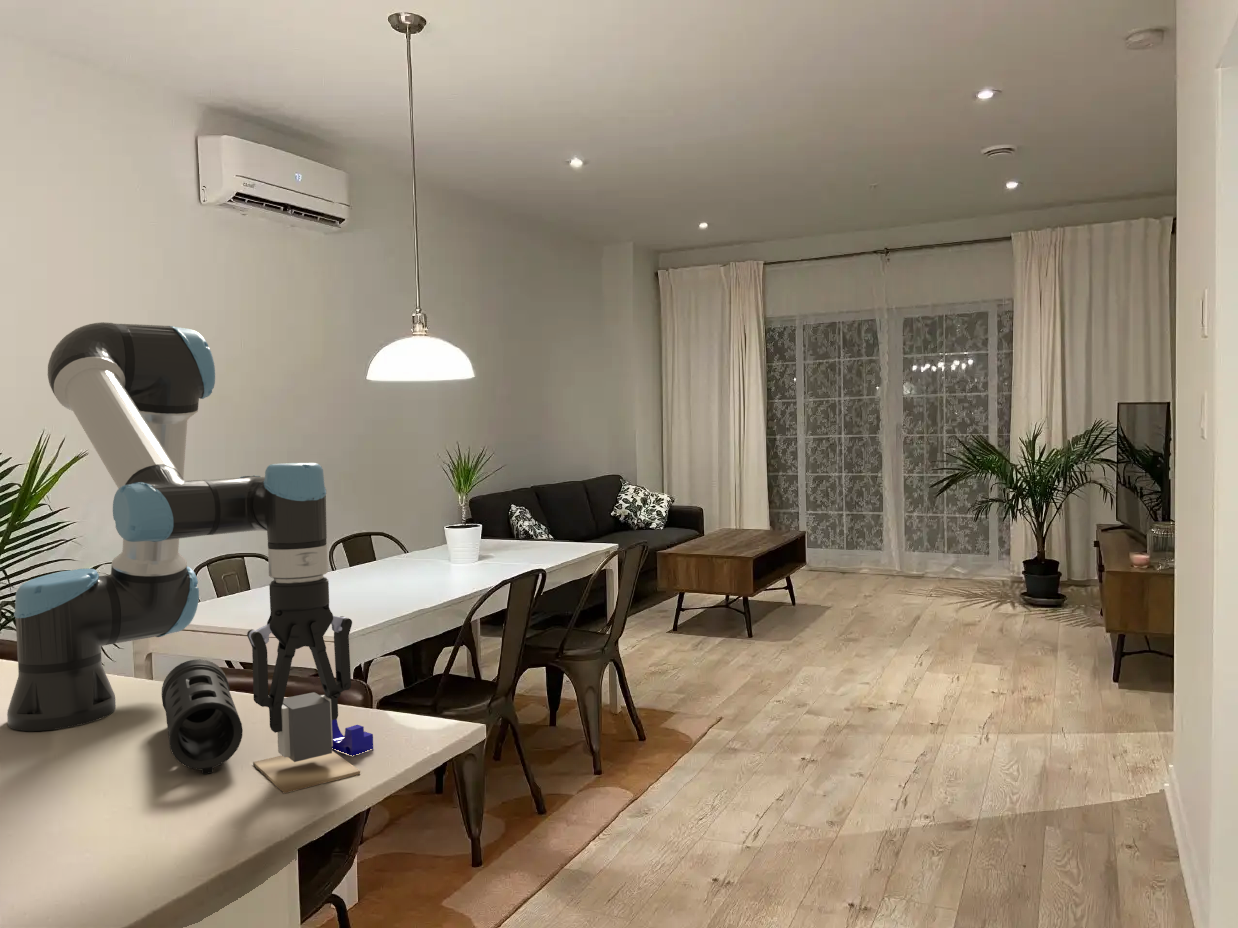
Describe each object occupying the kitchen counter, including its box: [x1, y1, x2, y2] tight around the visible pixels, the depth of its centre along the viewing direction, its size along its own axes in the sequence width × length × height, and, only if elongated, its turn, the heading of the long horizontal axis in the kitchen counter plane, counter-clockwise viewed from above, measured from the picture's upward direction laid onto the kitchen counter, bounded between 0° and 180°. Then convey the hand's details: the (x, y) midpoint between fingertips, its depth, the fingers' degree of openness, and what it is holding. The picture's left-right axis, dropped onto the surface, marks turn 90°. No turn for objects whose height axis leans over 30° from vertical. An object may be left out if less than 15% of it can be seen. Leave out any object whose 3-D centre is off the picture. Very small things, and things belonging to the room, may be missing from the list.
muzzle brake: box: [161, 659, 244, 775], centre depth 136 cm, size 10×28×10 cm, turn 28°
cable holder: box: [332, 718, 374, 756], centre depth 133 cm, size 8×4×4 cm, turn 51°
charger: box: [283, 691, 333, 762], centre depth 126 cm, size 8×5×7 cm, turn 38°
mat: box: [252, 750, 361, 794], centre depth 125 cm, size 13×10×1 cm
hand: (305, 748), depth 125 cm, fingers closed on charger, 5 cm apart
